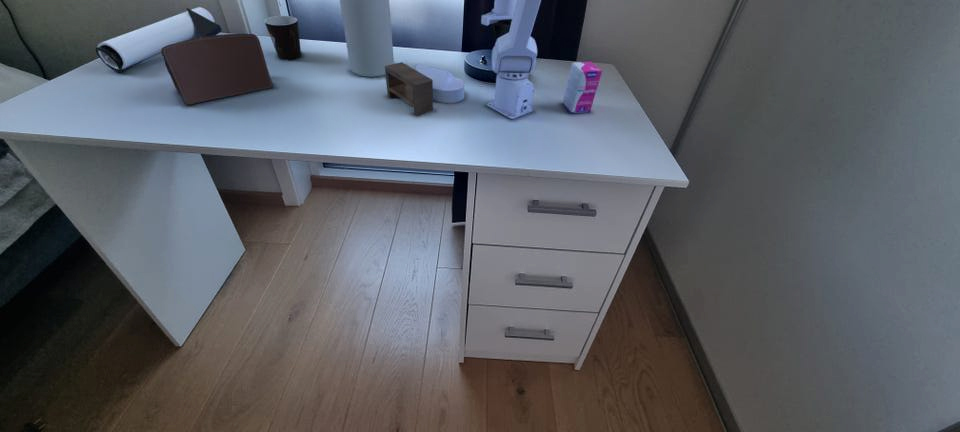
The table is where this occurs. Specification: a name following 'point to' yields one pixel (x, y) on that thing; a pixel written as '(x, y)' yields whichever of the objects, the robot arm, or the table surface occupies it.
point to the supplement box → (581, 87)
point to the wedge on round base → (443, 84)
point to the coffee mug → (284, 36)
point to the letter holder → (216, 67)
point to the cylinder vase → (368, 35)
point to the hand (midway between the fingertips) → (501, 48)
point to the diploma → (155, 38)
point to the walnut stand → (410, 87)
